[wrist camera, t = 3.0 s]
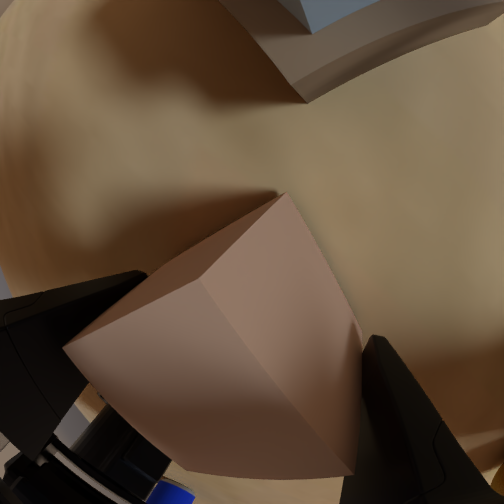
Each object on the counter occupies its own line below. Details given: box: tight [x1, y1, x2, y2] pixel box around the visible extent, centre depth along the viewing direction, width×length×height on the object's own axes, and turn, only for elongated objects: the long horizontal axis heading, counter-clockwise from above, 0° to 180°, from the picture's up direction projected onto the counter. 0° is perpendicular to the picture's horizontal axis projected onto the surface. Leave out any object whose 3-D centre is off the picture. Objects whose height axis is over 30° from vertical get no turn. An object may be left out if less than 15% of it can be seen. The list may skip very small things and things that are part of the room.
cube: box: [62, 192, 362, 480], centre depth 7 cm, size 5×5×5 cm
